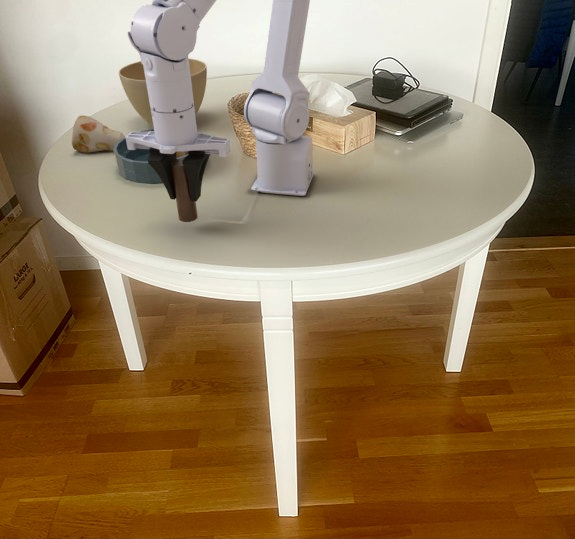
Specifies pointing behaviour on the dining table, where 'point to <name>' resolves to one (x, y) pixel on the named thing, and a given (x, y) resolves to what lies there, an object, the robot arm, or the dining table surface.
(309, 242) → the dining table surface
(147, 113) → the flower pot
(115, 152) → the bowl
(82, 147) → the cream tapered piece
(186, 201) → the stick
